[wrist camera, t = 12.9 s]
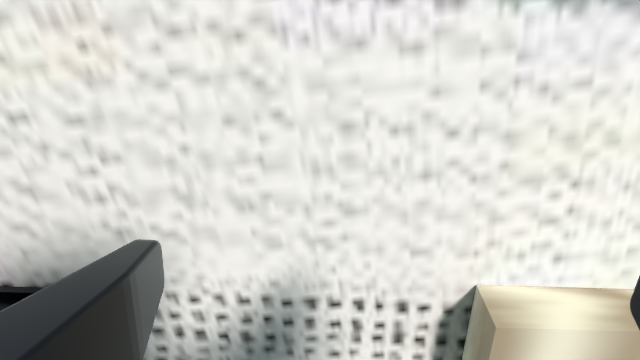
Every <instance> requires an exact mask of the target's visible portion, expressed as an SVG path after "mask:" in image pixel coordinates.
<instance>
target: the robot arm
mask: <svg viewBox="0 0 640 360" xmlns="http://www.w3.org/2000/svg"><path fill="white" fill-rule="evenodd" d="M163 288H164V270H163V260H162V250H161V245H160V243H159V242H158V241H156V240H135V241H133V242H131V243H129V244H127V245H125V246H123V247H121V248H119V249H118V250H116V251H114V252H112V253H110V254H108V255H106V256H104V257H102V258H100V259H99V260H97V261H95V262H93V263H91V264H89V265H87V266H85V267H83V268H82V269H80V270H78V271H76V272H74V273H72V274H70V275H68V276H66V277H64V278H63V279H61V280H59V281H57V282H55V283H53V284H51V285H49V286H47V287H46V288H31V287H0V360H142V359H143V356H144V353H145V349H146V346H147V343H148V339H149V336H150V333H151V329H152V326H153V323H154V319H155V316H156V313H157V309H158V306H159V302H160V299H161V296H162V292H163ZM630 310H631V314H632V316H633V318H634V320H635V322H636V324H637V326H638V329H639V331H640V276H639V279H638V281H637V284H636V286H635V289H634V292H633V294H632V297H631V300H630Z"/></svg>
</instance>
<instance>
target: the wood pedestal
mask: <svg viewBox="0 0 640 360" xmlns="http://www.w3.org/2000/svg"><path fill="white" fill-rule="evenodd" d="M633 292H634V290H632V289H597V288H561V287H526V286H491V285H476V290H475V295H474V300H473V306H472V311H471V316H470V321H469V326H468V331H467V336H466V341H465V346H464V351H463V356H462V360H640V331H639V329H638V326H637V324H636V322H635V320H634V318H633V316H632V314H631V310H630V300H631V297H632V294H633Z"/></svg>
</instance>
